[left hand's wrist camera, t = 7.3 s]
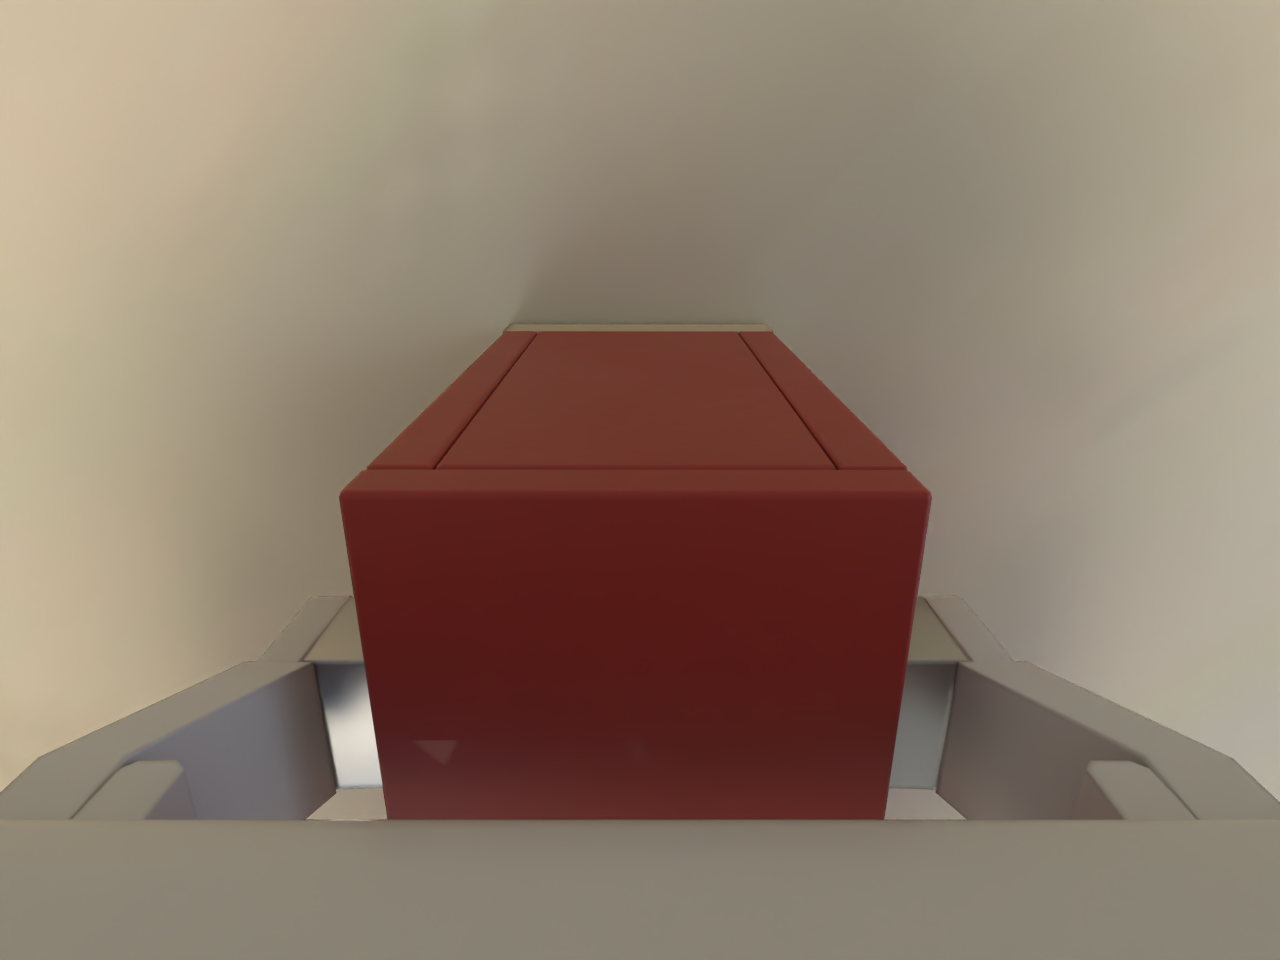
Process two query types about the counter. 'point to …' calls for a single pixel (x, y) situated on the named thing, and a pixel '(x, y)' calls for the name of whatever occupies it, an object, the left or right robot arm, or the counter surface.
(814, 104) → the counter surface
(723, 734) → the cabinet
